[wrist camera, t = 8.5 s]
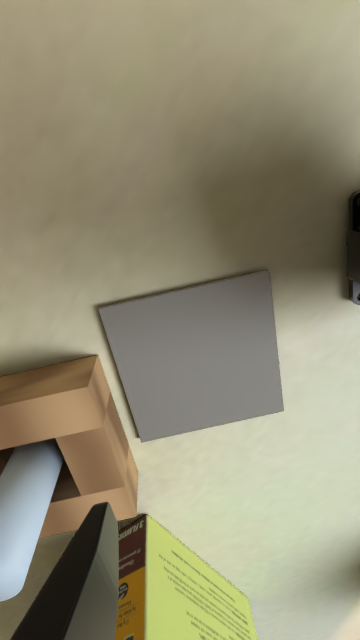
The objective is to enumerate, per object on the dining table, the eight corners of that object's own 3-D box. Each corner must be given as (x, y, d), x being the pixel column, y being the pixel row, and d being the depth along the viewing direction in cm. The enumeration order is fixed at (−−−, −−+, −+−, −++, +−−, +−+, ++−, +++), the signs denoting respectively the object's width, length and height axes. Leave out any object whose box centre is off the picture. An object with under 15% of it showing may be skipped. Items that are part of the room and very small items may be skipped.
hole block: (97, 355, 21) (88, 386, 17) (138, 472, 24) (136, 516, 21) (-61, 390, 21) (-100, 428, 17) (5, 502, 24) (-18, 550, 21)
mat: (267, 269, 19) (269, 271, 19) (281, 407, 23) (283, 411, 23) (99, 306, 19) (98, 309, 19) (141, 438, 23) (141, 442, 23)
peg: (62, 412, 22) (7, 550, 14) (76, 446, 23) (34, 594, 15) (17, 421, 22) (-65, 566, 14) (34, 455, 23) (-32, 608, 15)
